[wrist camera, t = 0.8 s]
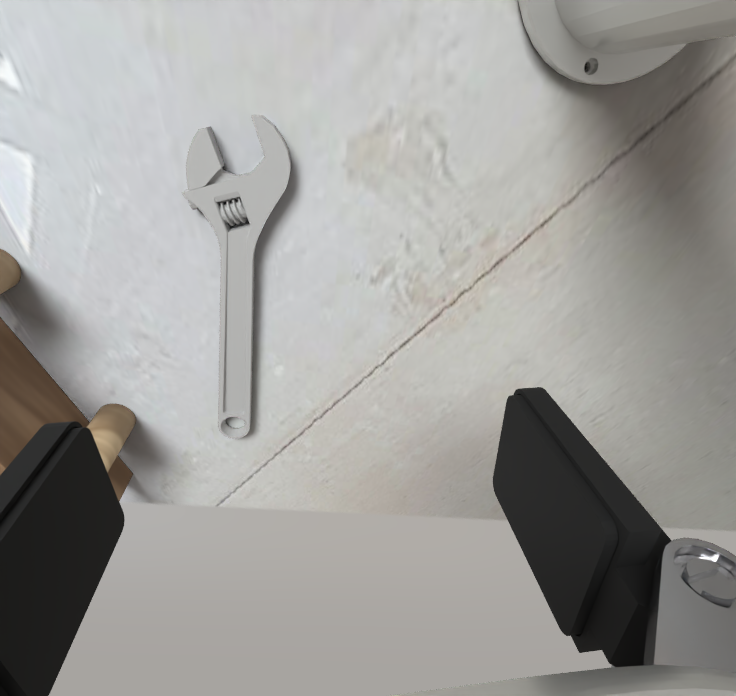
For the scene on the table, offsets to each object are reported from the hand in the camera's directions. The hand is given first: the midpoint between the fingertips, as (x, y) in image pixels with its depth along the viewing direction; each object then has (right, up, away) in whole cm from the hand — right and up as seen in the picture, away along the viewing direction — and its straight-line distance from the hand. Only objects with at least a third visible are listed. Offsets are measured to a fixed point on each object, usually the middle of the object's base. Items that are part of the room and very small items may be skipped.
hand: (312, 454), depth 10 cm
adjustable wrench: (-9, +7, +23) cm, 26 cm away
